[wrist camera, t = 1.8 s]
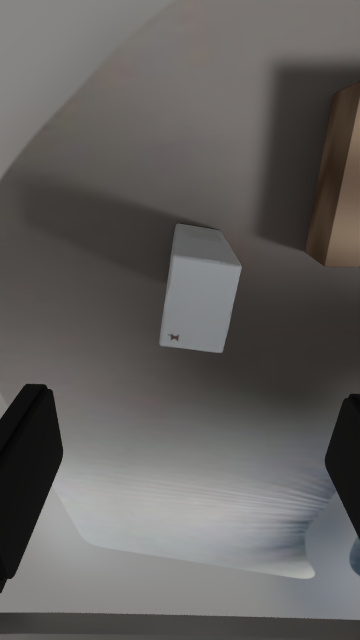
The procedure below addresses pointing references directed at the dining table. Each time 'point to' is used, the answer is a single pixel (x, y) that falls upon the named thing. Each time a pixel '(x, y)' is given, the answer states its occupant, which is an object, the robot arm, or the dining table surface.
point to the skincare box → (199, 290)
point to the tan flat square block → (338, 187)
